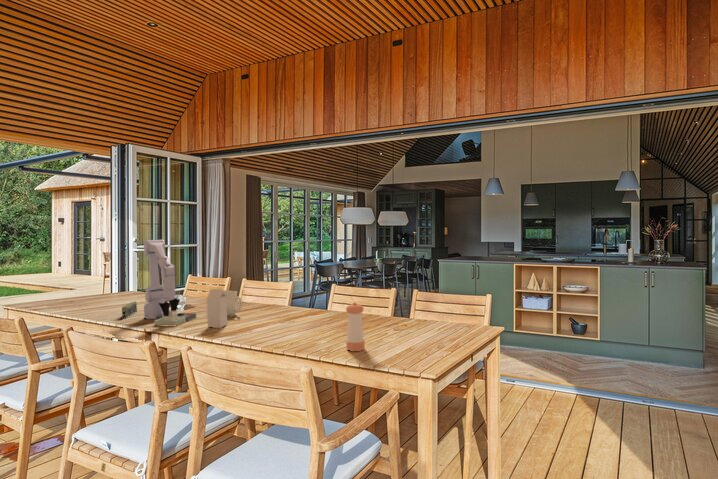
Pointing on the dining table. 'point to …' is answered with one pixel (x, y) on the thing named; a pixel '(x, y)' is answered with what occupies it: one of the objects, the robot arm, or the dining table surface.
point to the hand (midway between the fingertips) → (170, 314)
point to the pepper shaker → (355, 328)
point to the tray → (177, 322)
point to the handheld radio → (129, 309)
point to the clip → (181, 303)
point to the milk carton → (216, 308)
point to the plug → (170, 316)
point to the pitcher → (232, 302)
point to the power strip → (188, 316)
